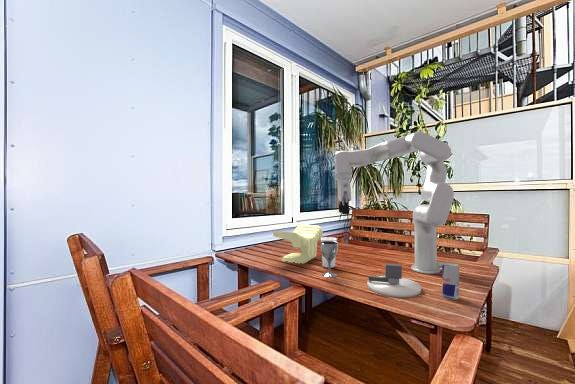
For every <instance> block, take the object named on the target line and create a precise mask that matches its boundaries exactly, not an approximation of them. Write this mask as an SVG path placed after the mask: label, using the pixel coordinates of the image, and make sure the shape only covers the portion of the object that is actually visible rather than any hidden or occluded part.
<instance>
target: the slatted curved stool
mask: <svg viewBox="0 0 575 384" xmlns="http://www.w3.org/2000/svg"><path fill="white" fill-rule="evenodd" d="M296 226H297V227H295V229H294V230H293V231H291V232H290V231H280V230H279V231H278V230H273V231H272V234H273V237H274V238H278V239H281V240H286V241H289V242H290V243H291V245H292V248H296V249H297V248H298V249H300V253H294V252H292V253H289V254H286V255H285V256H282V257H281V258H282V259H281V262H285V261H288V262H287V263H293V262H295V263H294V264H300V263H302V264H306V263H308V262H309V261H311V260H313V259H314V258H316V256H317V250H318V242H319V240H321V238H324V237H323V236H324V235H323V234H324V233H323V231H324V230H323V227H321V226H320V225H314V224H298V225H296Z"/></svg>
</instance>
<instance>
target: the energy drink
mask: <svg viewBox="0 0 575 384" xmlns="http://www.w3.org/2000/svg"><path fill="white" fill-rule="evenodd" d="M442 263H443V265H442V267H441V295H442V297H443V298H444V299H446V300H450V301H451V300H452V301H457V300H459V299H460V266H459V264H458V263H454V262H442Z"/></svg>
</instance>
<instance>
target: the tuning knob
mask: <svg viewBox="0 0 575 384" xmlns="http://www.w3.org/2000/svg"><path fill="white" fill-rule="evenodd" d="M384 266H385V267H384V273H385V274H384V276H385V277H378V276H374V275H373V276H371V275H369V276H368V280H369V281H378V282H388V283H390V284H399V279H402V278H403V277H402V274H403V272H402V270H403V267H402V264H399V263H398V264H396V263H385V265H384Z"/></svg>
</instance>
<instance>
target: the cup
mask: <svg viewBox="0 0 575 384" xmlns="http://www.w3.org/2000/svg"><path fill="white" fill-rule="evenodd" d="M337 240H338V239H337V238H336V237H330V236H329V237H328V236H327V237H323V238H320V243H321V242H322V241H335V242H338V241H337ZM336 256H337V255H336ZM336 256H335V257H334V259H333V260H332V261H331V266H330V268H335V267H336ZM321 260H322V267H324V268H329V267H328V262H327V260H326V259H325V258H324V256H323V255H322V254H321Z"/></svg>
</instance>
